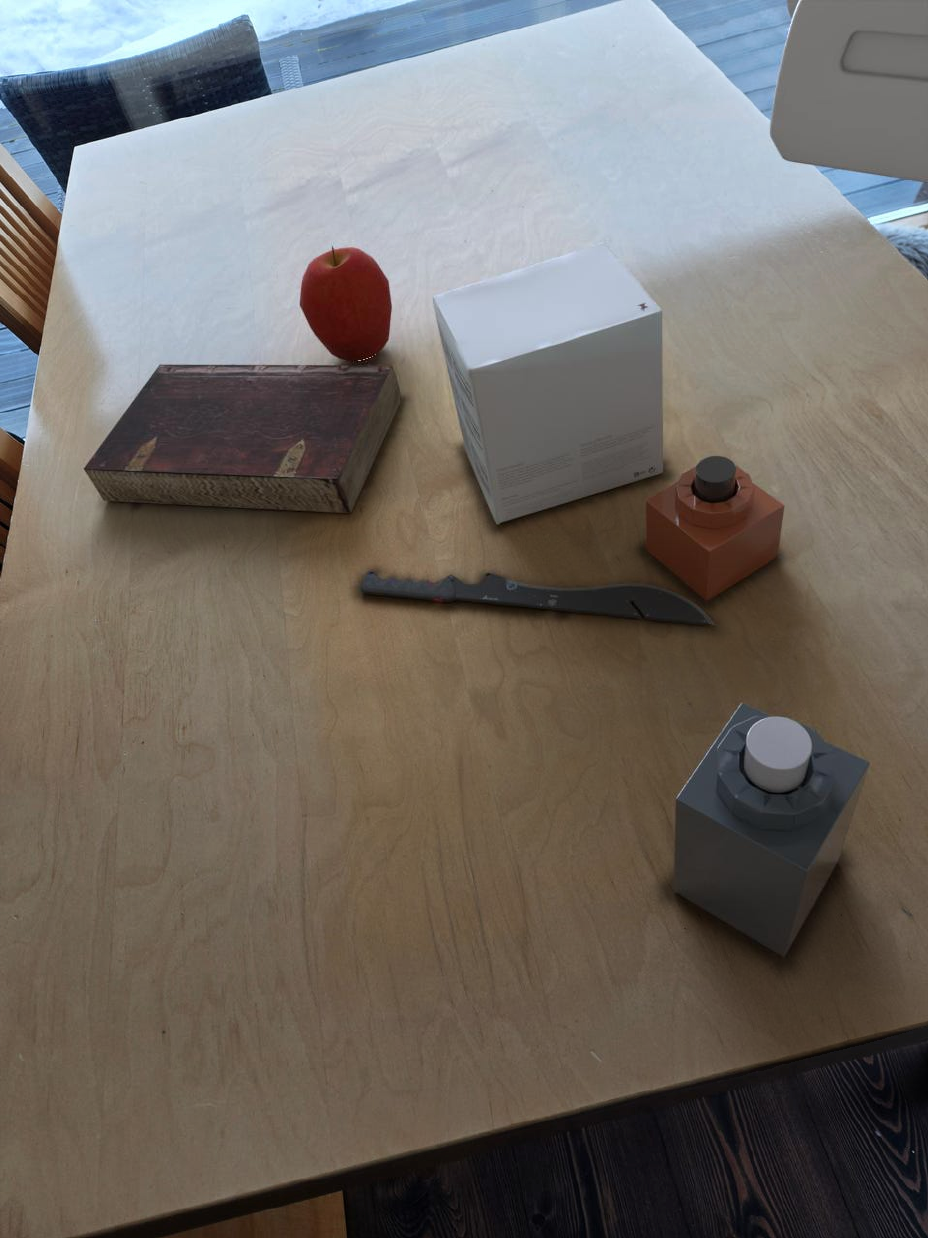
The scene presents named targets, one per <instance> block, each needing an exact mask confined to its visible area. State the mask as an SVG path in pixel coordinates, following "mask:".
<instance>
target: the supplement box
mask: <svg viewBox="0 0 928 1238" xmlns="http://www.w3.org/2000/svg"><path fill="white" fill-rule="evenodd" d="M432 304H433V305H432V306H433V309H434V314H435V319H436V324H437V328H438V329H437V330H438V333H439V337H440V338H439V339H440V342H441V347H442V351H443V355H444V360H445V365H446V369H447V375H448V377H449V382H450V387H451V391H452V397H453V401H454V405H455V409H456V413H457V414H456V415H457V418H458V423H459V428H460V432H461V435H462V441H463V446H464V451H465V453H466V456H467V458H468V461H469V463H470V465H471V467H472V470H473V473H474V475H475V478H476V480H477V482H478V484H479V487H480V490H481V491H482V494H483V496H484V498H485V501H486V504H487V505H488V508H489V510H490V513H491V515H492V517H493V520H494V522H495V524H496V525H497V526H498V525H500V524H501V523H504V522H508V521H511V520H514V519H517V518H521V517H524V516H528V515H531V514H534V513H537V512H540V511H543V510H547V509H550V508H554V507H557V506H560V505H563V504H567V503H570V502H574V501H577V500H580V499H583V498H587V497H589V496H592V495H596V494H599V493H602V492H605V491H609V490H613V489H615V488H618V487H622V486H625V485H629V484H631V483H635V482H639V481H641V480H644V479H648V478H651V477H654V476H657V475H660V474H662V473H664V402H663V401H664V400H663V399H664V397H663V393H664V391H663V388H664V386H663V385H664V384H663V383H664V381H663V377H664V376H663V309H661V307H660V305H658V304H657V303H656V302H655V301H654V299H652V297H651V296H650V295H649V293H648V292H647V291H646V290H645V288H644V287H643V286H642V284H641V283H640V282H639V281H638V279H637V278H636V277H635V276H634V275H633V274H632V273H631V271H630V270H629V269H628V267H627V266H626V265H625V264H624V263H623V262H622V260H621V259H620V258H619V257H618V256H617V254H615V252H614V251H613V250H612V249H611V247H610V246H609V245H608V244H607V243H606V241H601V242H599V243H596V244H593V245H590V246H586V247H584V248H581V249H578V250H574V251H571V252H569V253H566V254H563V255H560V256H556V257H553V258H550V259H546V260H544V261H540V262H537V263H534V264H531V265H527V266H524V267H521V268H518V269H515V270H512V271H509V272H506V273H503V274H499V275H496V276H493V277H489V278H486V279H484V280H480V281H477V282H474V283H470V284H467V285H463V286H460V287H457V288H454V289H451V290H449V291H444V292H441V293H438V294H434V295H432Z"/></svg>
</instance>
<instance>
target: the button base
mask: <svg viewBox="0 0 928 1238" xmlns="http://www.w3.org/2000/svg"><path fill="white" fill-rule="evenodd" d="M696 465H697V464H695V465H694V466H692V467H690V468H688V469H686V470H684V471H683V472H682V473H681V474H680V476H679V478H678V480H677V481H675V482H674V483H672V484H671V485H669V486H667V487H666V488H664V489H662V490H660V491H658V492H657V493H655V494H654V495H652V496H650V497H648V498H647V499H645V537H646V539H645V540H646V541H645V542H646V543H645V544H646V545H645V546H646V551H647V552H648V553H650V554H651V555H652V556H653V557H654V558H655V559H656V560H657V561H658V562H660V563H661V564H662V565H663V566H664V567H666V568H667V569H668V570H669V571H670V572H671V573H672V574H674V575H675V576H676V577H677V578H679V580H681V581H682V582H683V583H685V585H686V586H688V587H689V588H690V589H691V590H693V591H694V592H695V593H696V594H697V595H698V596H699V597H701V599H703V600H704V601H705V602H708V601H709V600H711V599H712V598H715V597H716V596H718V595H720V594H721V593H722V592H724V591H726V590H727V589H729V588H730V587H732V586H733V585H735V584H737V583H739V582H740V581H741V580H743V579H745V578H747V577H748V576H750V575H751V574H753V573H754V572H756V571H758V570H759V569H761V568H762V567H764V566H765V565H767V564H769V563H770V562H771V561H773V560H775V559H776V558H778V556H779V550H780V542H781V534H782V529H783V527H782V526H783V519H784V514H785V513H784V512H785V504H783V503H782V502H781V501H779V500H778V499H776V498H775V497H774V496H772V495H771V494H769V493H768V492H766V491H765V490H764V489H763V488H761V487H759V486H758V485H757V484H755V483H754V482H753V480H752V477H751V475H750V474H749V473H748V472H746V471H745V470H743V469H742V468H741V467H739V466H738V465H736V464H735V466H736V479H735V491H734V494H733V496H732V497H731V498H730V499H729V500H727V501H725V502H719V503H709V502H704V501H702V500H700V499H699V498H698V497H697V496H696V494H695V491H694V489H695V467H696Z"/></svg>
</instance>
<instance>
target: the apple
mask: <svg viewBox="0 0 928 1238" xmlns="http://www.w3.org/2000/svg"><path fill="white" fill-rule="evenodd" d="M390 289H391V287H390V281H389V279H388V278H387V276H386V274H385V273H384V271H383V269H381V267H380V265H379V263H378V262H377V261H376V260H375V258H373V256H372V255H370V254H368V253H367V252H365V251H363V250H362V249H361V248H358V247H353V246H351V247H350V246H349V247H340V248H334V246H333V245H331V249H330V250H328V251H327V252H324V253H322V254H320V255H318V256H316V257H315V258H314V259H312V261H310V262H309V264H308V265H307V267H306V269H305V271H304V273H303V275H302V279H301V285H300V293H299V294H300V295H299V307H300V309H301V312H302V314H303V315H304V317H305V320H306V322H307V324H308V326H309V328H310V330H311V331H312V332H313V334H314V336H315V337H316V338H317V339H318V340H319V342H320V343H321V344H322V345H323V346H324V347H325V349H326V350H327V351H328V352H329V353H330V355H331V356H333V357H335V358H337V359H339V360H341V361H344V360H346V361H345V362H348V363H350V364H364V363H367V362H370V361H372V360H374V359H375V358H376V357H377V356H378V355H379V354H380V353H381V352H382V351H383V349H384V348H385V346H386V345H387V343H388V342H389V338H390V329H391V320H392V310H393V304H392V297H391V290H390ZM375 354H376V355H375ZM372 356H373V357H372ZM369 357H371V358H369ZM366 358H368V359H366ZM363 359H365V360H363ZM358 360H361V361H358Z"/></svg>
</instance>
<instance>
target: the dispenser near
mask: <svg viewBox="0 0 928 1238" xmlns="http://www.w3.org/2000/svg"><path fill="white" fill-rule="evenodd" d="M768 717H780V716H779V715H778V716H776V715H775V716H774V715H773V716H772V715H771V714H768V713H766V712H764V711H762V710H760V709H758V708H755V707H753V706H751V705H749V704H747V703H745V702H742V701H741V702H740V704H739V705H738V707H737V708H736V709H735V711H734V712H733V714H732V715H731V717H729V719H728V722H727V723H726V724H725V726H724V727H723V728H722V730H721V731H720V733H719V734H718V736H717V737H716V739H715V740H714V741H713V743H712V745H711V746H710V747H709V749H708V751H706V754H705V755H704V757H703V758H702V760H701V761H700V763H699V764H698V765H697V767H696V768H695V770H694V771H693V773H691V776H690V777H689V778H688V780H687V782H686V783H685V785H684V786H683V787H682V789H681V790H680V791H679V793H678V795H677V796H676V798H675V812H674V813H675V817H674V818H675V819H674V862H673V863H674V864H673V865H674V867H673V868H674V869H673V892H675V893H676V894H678V895H679V896H681V897H683V898H684V899H686V900H688V901H689V902H691V903H693V904H695V905H696V906H698V907H699V908H702V910H704V911H706V912H707V913H709V914H711V915H713V916H714V917H715V918H718V919H720V920H721V921H722V922H723V923H726V924H728V925H729V926H731V927H733V928H734V929H736V930H737V931H739V932H741V933H743V934H744V935H746V936H748V938H751V939H753V940H754V941H756V942H757V943H759V944H761V945H763V946H764V947H766V949H769V950H770V951H772V952H774V953H775V954H777V955H779V956H780V957H782V958H785V957H786V955H787V953H788V952H789V950H790V948H791V946H792V945H793V942H794V941H795V939H796V938H797V935H798V934H799V932H800V930H801V928H802V926H803V925H804V923H805V921H806V919H807V918H808V916H809V914H810V912H811V910H812V908H813V907H814V905H815V903H816V902H817V900H818V898H819V896H820V894H821V892H822V891H823V889H824V888H825V885H826V884H827V883H828V880H829V878H830V877H831V875H832V873H833V872H834V869H835V868H836V866H837V864H838V862H839V860H840V858H841V857H840V856H841V854H842V851H843V848H844V844H845V842H846V839H847V835H848V832H849V829H850V825H851V822H852V820H853V817H854V814H855V811H856V807H857V804H858V802H859V799H860V795H861V792H862V788H863V786H864V783H865V779H866V776H867V773H868V770H869V768H870V764H871V762H869V761H868V760H866V759H863V758H861V757H860V756H857V755H855V754H854V753H853V754H852V753H851V752H848V751H846V750H844V749H842V748H840V747H839V746H836V745H834V744H831V743H829V742H827V741H825V740H824V739H823V738H822V736H821V735H820V734H819V732H817V730H816V729H814V728H812V727H810V726H808V725H805V724H803V723H802V722H800V721H797V720H795V719H793V718H791V717H789V716H783V717H784V718H788V719H791V720H793V721H795V722H797V723H798V724H800V725H801V726H802V727H803V728H804V729H805V730H806V731H807V733H808V734H809V736H810V738H811V741H812V752H811V756H810V761H809V765H808V769H807V774H806V777H805V779H804V781H803V782H802V783H801V784H800V785H799V786H798V787H797V788H795V789H793V790H791V791H788V792H782V793H775V792H769V791H766V790H763V789H761V788H759V787H757V786H756V785H755V784H754V783H753V782H751V780H750V779H749V778H748V776H747V775H746V773H745V770H744V754H745V746H746V738H747V734H748V732H749V730H750V728H751V727H752V726H753V725H754V724H755V723H757V722H758V721H760V720H762V719H764V718H768Z"/></svg>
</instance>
